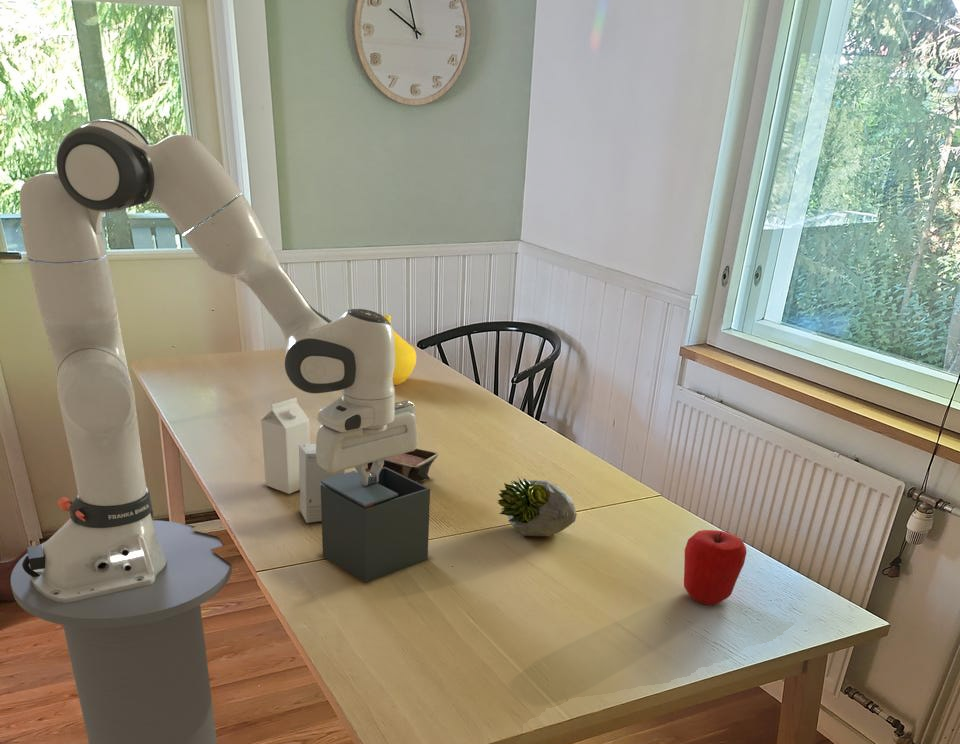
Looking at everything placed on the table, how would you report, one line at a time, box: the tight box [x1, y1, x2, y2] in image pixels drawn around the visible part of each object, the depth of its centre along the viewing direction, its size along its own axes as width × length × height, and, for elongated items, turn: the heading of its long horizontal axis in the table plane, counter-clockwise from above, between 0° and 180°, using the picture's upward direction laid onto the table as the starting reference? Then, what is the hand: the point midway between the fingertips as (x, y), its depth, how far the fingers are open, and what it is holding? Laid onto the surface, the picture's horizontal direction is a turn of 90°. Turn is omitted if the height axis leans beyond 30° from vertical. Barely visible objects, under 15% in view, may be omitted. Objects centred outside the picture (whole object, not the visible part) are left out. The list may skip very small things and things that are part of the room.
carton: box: [320, 467, 431, 583], centre depth 161 cm, size 15×13×14 cm
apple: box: [683, 529, 748, 606], centre depth 156 cm, size 11×10×14 cm
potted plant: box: [497, 476, 577, 537], centre depth 176 cm, size 12×13×15 cm
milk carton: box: [260, 397, 311, 495], centre depth 186 cm, size 7×7×19 cm
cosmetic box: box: [299, 443, 346, 524], centre depth 175 cm, size 8×6×15 cm
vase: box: [381, 314, 417, 386], centre depth 257 cm, size 18×18×19 cm
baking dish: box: [365, 447, 439, 482], centre depth 194 cm, size 14×18×10 cm
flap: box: [321, 470, 398, 507], centre depth 155 cm, size 7×13×1 cm, turn 44°
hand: (369, 483), depth 156 cm, fingers closed, pressing on flap
